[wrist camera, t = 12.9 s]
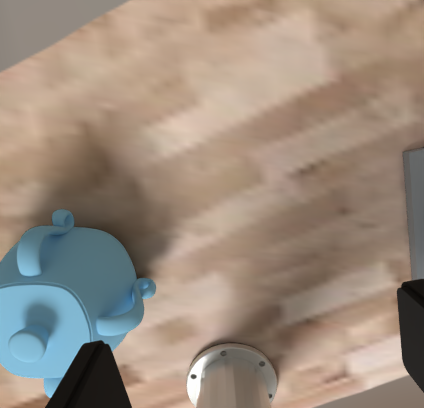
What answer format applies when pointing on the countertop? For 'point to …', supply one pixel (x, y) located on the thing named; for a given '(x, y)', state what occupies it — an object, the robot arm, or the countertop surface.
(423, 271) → the peg board
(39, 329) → the decorative pot
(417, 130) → the countertop surface
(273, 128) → the countertop surface
